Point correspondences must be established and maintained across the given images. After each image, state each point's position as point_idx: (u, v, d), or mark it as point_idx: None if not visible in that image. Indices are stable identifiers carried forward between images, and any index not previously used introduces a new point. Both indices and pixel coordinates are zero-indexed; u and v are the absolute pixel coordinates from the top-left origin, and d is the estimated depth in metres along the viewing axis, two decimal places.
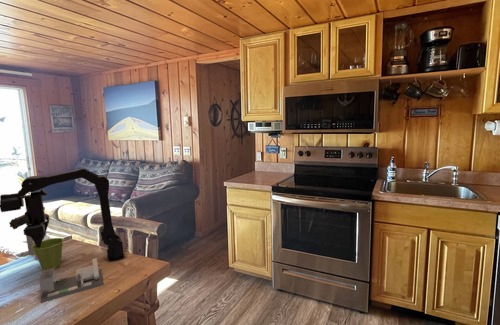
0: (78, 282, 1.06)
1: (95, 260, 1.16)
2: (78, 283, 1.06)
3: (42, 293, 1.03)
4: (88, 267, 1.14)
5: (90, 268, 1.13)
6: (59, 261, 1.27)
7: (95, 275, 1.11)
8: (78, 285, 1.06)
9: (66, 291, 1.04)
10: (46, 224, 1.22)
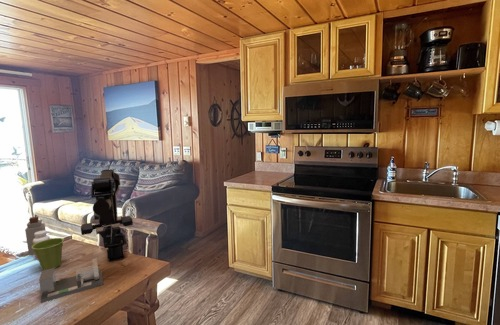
0: (78, 282, 1.06)
1: (95, 260, 1.16)
2: (78, 283, 1.06)
3: (42, 293, 1.03)
4: (88, 267, 1.14)
5: (90, 268, 1.13)
6: (59, 261, 1.27)
7: (95, 275, 1.11)
8: (78, 285, 1.06)
9: (66, 291, 1.04)
10: (112, 231, 1.15)
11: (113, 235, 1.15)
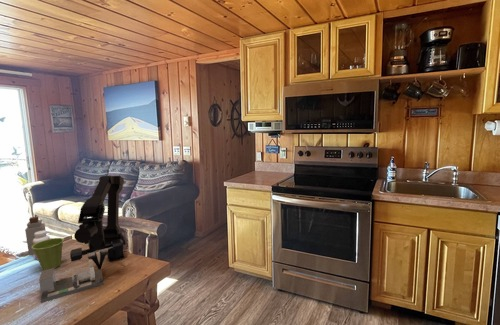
0: (75, 283, 1.06)
1: (91, 261, 1.15)
2: (75, 284, 1.06)
3: (42, 293, 1.03)
4: (84, 268, 1.14)
5: (86, 269, 1.13)
6: (59, 261, 1.27)
7: (91, 276, 1.11)
8: (75, 286, 1.06)
9: (66, 291, 1.04)
10: (100, 256, 1.13)
11: (101, 260, 1.14)
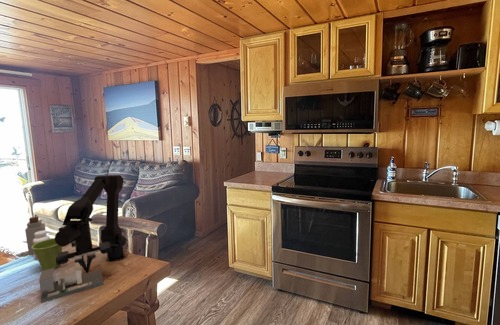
0: (60, 287, 1.03)
1: (78, 264, 1.13)
2: (60, 288, 1.03)
3: (42, 293, 1.03)
4: (71, 272, 1.11)
5: (72, 273, 1.10)
6: None
7: (78, 280, 1.08)
8: (60, 290, 1.03)
9: (66, 291, 1.04)
10: (87, 259, 1.11)
11: (88, 264, 1.12)
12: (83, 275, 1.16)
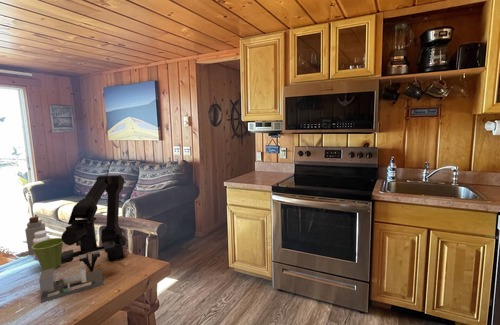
0: (60, 287, 1.03)
1: (83, 263, 1.14)
2: (60, 288, 1.03)
3: (42, 293, 1.03)
4: (76, 271, 1.12)
5: (77, 272, 1.11)
6: (59, 261, 1.27)
7: (82, 278, 1.09)
8: (60, 290, 1.03)
9: (66, 291, 1.04)
10: (91, 258, 1.12)
11: (93, 262, 1.12)
12: None
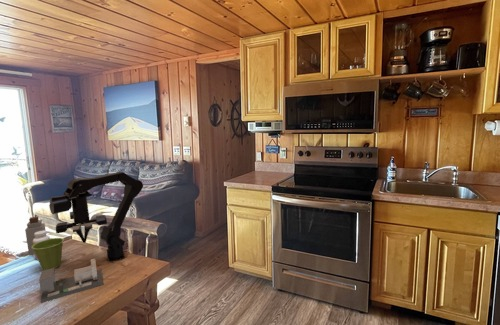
0: (60, 287, 1.03)
1: (93, 260, 1.16)
2: (60, 288, 1.03)
3: (42, 293, 1.03)
4: (87, 268, 1.14)
5: (88, 269, 1.13)
6: (59, 261, 1.27)
7: (93, 275, 1.11)
8: (60, 290, 1.03)
9: (66, 291, 1.04)
10: (84, 230, 1.20)
11: (86, 234, 1.21)
12: None
